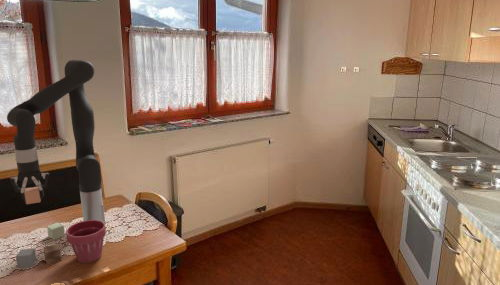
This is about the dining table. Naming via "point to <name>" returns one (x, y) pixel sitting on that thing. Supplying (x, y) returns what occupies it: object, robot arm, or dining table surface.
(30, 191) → the terracotta cube
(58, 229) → the sage cube
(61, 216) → the dining table surface
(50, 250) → the walnut cube
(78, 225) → the plant pot
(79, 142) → the robot arm
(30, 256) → the slate cube
